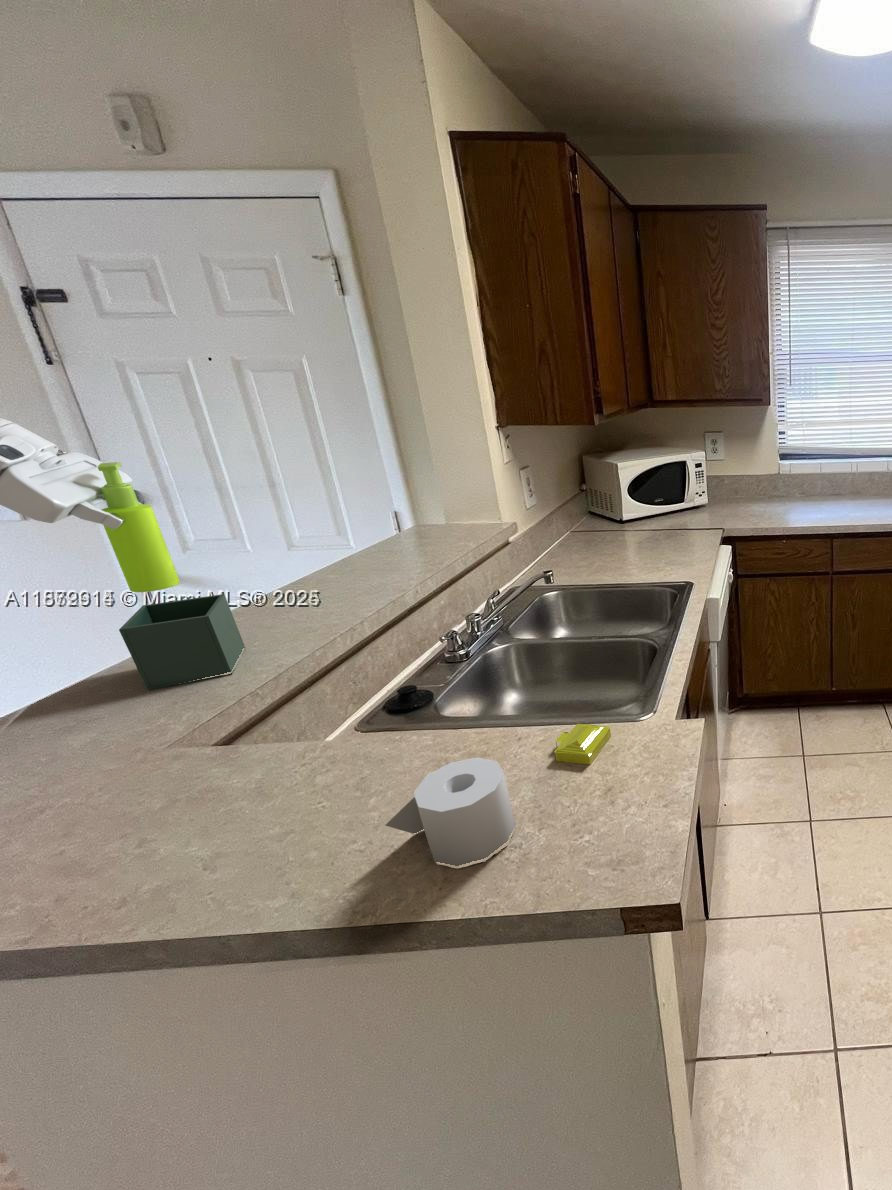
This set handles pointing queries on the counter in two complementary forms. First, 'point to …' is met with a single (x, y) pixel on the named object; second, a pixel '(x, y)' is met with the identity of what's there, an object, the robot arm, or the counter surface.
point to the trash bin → (183, 640)
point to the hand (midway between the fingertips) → (133, 519)
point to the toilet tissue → (460, 811)
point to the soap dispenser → (136, 536)
